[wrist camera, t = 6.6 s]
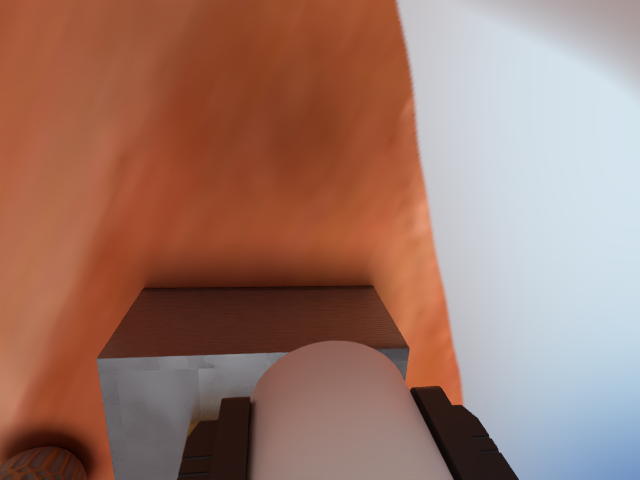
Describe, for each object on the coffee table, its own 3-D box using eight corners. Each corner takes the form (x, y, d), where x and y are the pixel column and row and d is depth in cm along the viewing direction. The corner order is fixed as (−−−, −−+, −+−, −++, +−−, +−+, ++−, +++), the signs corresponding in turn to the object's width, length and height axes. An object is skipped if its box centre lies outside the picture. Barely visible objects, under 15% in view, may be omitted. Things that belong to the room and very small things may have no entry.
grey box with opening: (143, 288, 27) (73, 393, 17) (372, 285, 29) (426, 377, 19) (165, 502, 33) (122, 669, 24) (353, 486, 36) (386, 634, 26)
